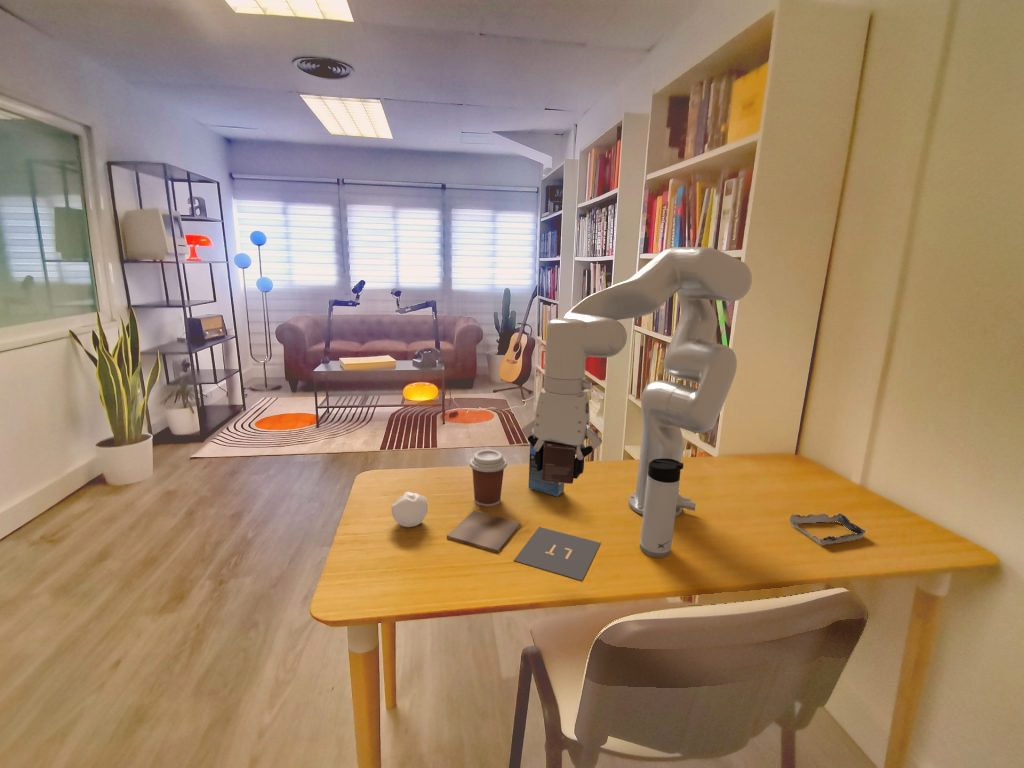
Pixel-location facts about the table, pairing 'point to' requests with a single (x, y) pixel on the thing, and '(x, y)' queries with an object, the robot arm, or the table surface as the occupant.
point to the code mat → (558, 553)
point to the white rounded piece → (409, 509)
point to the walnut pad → (484, 531)
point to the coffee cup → (487, 476)
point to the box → (558, 462)
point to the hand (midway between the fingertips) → (558, 471)
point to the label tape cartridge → (536, 479)
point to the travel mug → (660, 507)
